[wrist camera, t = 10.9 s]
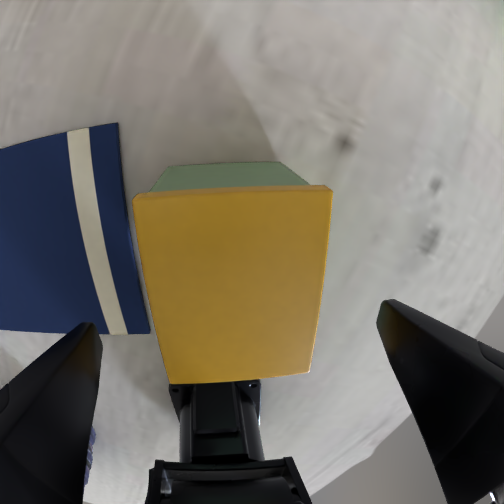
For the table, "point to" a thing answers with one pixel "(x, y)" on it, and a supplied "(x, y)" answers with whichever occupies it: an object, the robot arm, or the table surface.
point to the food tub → (234, 269)
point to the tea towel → (67, 236)
